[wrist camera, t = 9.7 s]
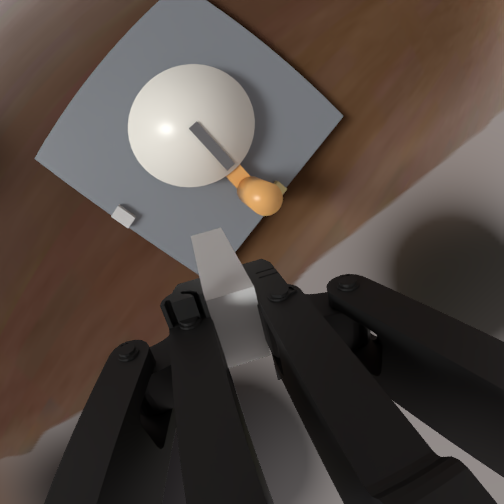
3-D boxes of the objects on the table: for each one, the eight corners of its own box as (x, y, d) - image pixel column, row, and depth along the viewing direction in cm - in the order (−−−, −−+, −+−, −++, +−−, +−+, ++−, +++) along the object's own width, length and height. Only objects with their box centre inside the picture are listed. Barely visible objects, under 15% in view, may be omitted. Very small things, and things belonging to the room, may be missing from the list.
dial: (106, 125, 26) (89, 120, 20) (197, 46, 25) (204, 22, 19) (213, 237, 31) (224, 259, 25) (297, 161, 31) (327, 165, 25)
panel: (178, -9, 24) (179, -21, 22) (334, 117, 33) (347, 115, 30) (41, 157, 27) (31, 159, 24) (209, 275, 35) (212, 285, 32)
